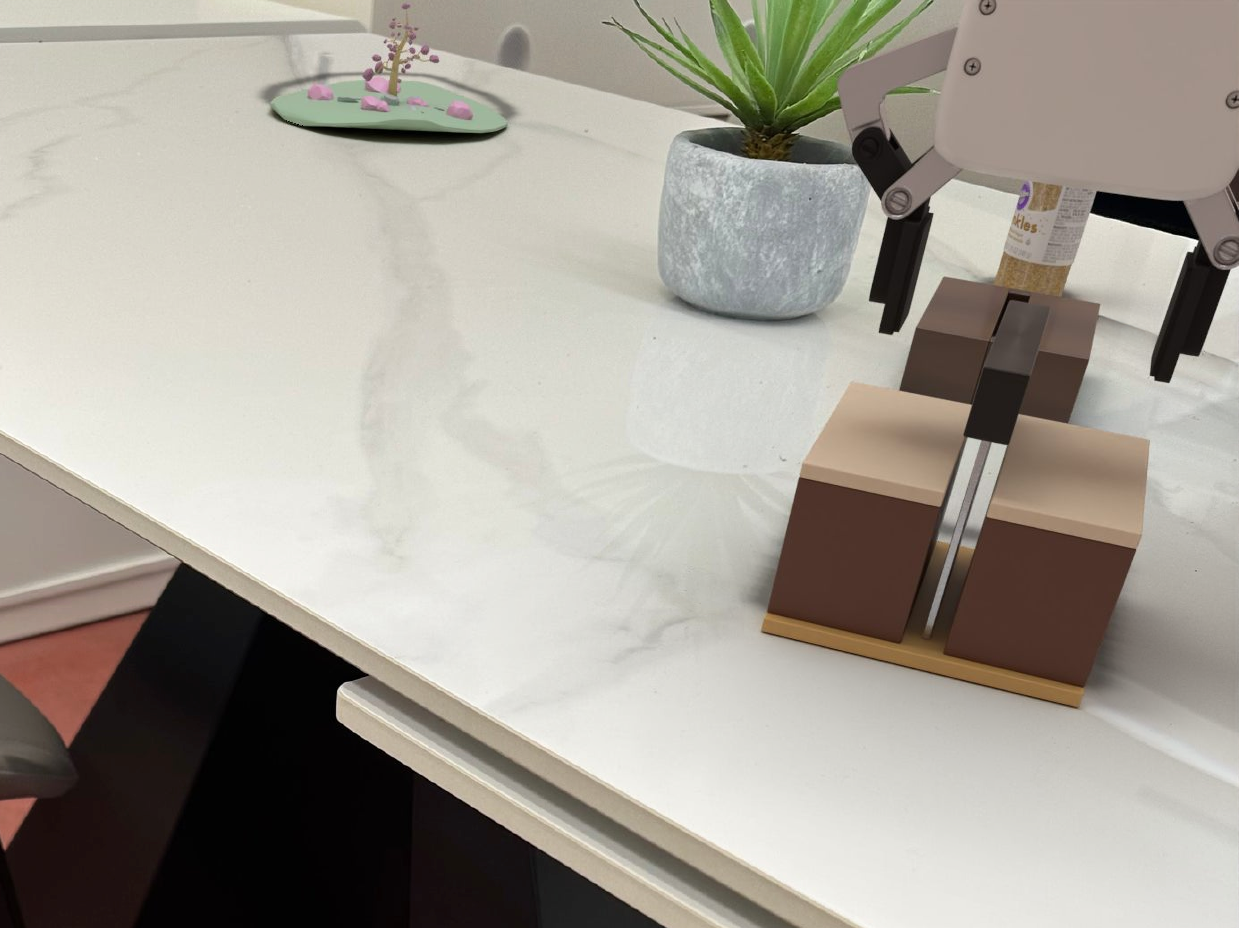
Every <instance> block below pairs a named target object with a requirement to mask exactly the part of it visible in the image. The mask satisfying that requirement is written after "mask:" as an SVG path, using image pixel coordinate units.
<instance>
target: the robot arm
mask: <svg viewBox="0 0 1239 928" xmlns="http://www.w3.org/2000/svg"><path fill="white" fill-rule="evenodd" d="M944 71H945V72H944ZM942 72H944V76H943V80H942V83H941V88H940V92H939V96H938V100H937V106H936V110H935V115H934V122H933V129H932V145H931V146H930V147H929V148H927V150H925V151H924V152H923V153H922V154H921V155H920V156H918V157H917V158H916V159H915V160H913V161H912V162H911V159H910V158H909V156H908V155H907V153H906V152H905V150H904V148H903V147H902V145H901V143H900V142H899V140H898V139H897V137H896V135H895V134H894V131H892V129H891V128H890V125H889V122H888V121H889V120H888V116H887V110H886V104H885V103H886V101H885V100H886V97H887V95H888V94H889V93H890V92H892V91H895V90H898V89H901V88H903V87H905V86H908V85H911V84H913V83H916V82H919V81H921V80H924V79H926V78H929V77H932V76H935V75H937V74H939V73H942ZM836 87H837V88H836V89H837V94H838V97H839V101H840V106H841V109H842V114H843V118H844V121H845V126H846V129H847V130H846V131H847V132H848V135H849V139H850V142H851V155H852V157H853V159H854V161H855V163H856V164H857V166H858V168H859V170H860V171H861V172H862V174H863V176H864V177H865V179H866V180H867V181H868V184H869V185H870V187H871V188H872V190H873V192H874V193H875V195H876V196H877V198H878V199H879V201H880V206H881V210H882V212H883V214H884V215H885V216H886V217H887V218H886V221H885V227H884V230H883V235H882V240H881V244H880V248H879V253H878V257H877V261H876V265H875V269H874V273H873V278H872V283H871V287H870V291H869V297H868V302H870V303H877V304H882V305H884V307H883V311H882V315H881V319H880V322H879V327H878V334H883V335H888V336H893V335H894V333H900V331H901V329H902V327H903V326H904V324H905V322H906V320H907V319H908V316H909V313H910V310H911V307H912V303H913V299H914V295H915V292H916V287H917V283H918V279H919V275H920V271H921V267H922V264H923V259H924V255H925V251H926V247H927V244H928V240H929V235H930V232H931V227H932V223H933V219H934V212H930V209H931V206H930V203H931V198H932V196H934V195H935V194H936V193H938V191H940V190H941V189H942V188H943V187H944V186H946V184H948V183H949V182H950V181H952V180H953V179H954V178H955V177H956V176H958V175H959V174H960V173H961V172H962V171H963V170H964V171H968V172H972V173H976V174H981V175H988V176H994V177H999V178H1005V179H1014V180H1017V181H1024V180H1025V181H1032V182H1039V183H1045V184H1052V185H1059V186H1066V187H1073V188H1080V189H1087V190H1094V191H1097V192H1102V193H1109V194H1117V195H1124V196H1131V197H1137V198H1146V199H1154V200H1162V201H1174V202H1175V201H1177V202H1179V201H1180V202H1181V201H1182V202H1183V205H1184V206H1185V208H1186V211H1187V214H1188V216H1189V218H1190V220H1191V222H1192V224H1193V226H1194V228H1195V230H1196V233H1197V235H1198V237H1199V238H1198V241H1197V244H1196V245H1195V246H1194V248H1193V250H1192V251H1187V252H1186V254H1185V257H1184V259H1183V263H1182V265H1181V268H1180V271H1179V275H1178V277H1177V281H1176V283H1175V286H1174V289H1173V292H1172V295H1171V298H1170V300H1169V303H1168V306H1167V310H1166V312H1165V315H1164V318H1163V321H1162V324H1161V327H1160V330H1159V333H1158V336H1157V339H1156V341H1155V344H1154V347H1153V351H1152V353H1151V359H1150V367H1149V377H1153V378H1154V379H1153V381H1154V382H1160V383H1166V384H1170V383H1171V380H1172V378H1173V375H1174V374H1175V373H1174V372H1175V370H1176V367H1177V364H1178V361H1179V359H1180V355H1186V356H1191V357H1195V358H1196V357H1197V358H1199V357H1200V355H1201V353H1202V351H1203V348H1204V345H1205V342H1206V339H1207V337H1208V335H1209V331H1210V330H1211V329H1210V328H1211V326H1212V323H1213V321H1214V318H1215V315H1216V312H1217V309H1218V306H1219V303H1220V300H1221V298H1222V295H1223V292H1224V289H1225V287H1226V285H1227V282H1228V279H1229V276H1230V273H1231V270H1232V269H1235V268H1237V267H1239V205H1238V202H1237V200H1236V198H1235V195H1234V193H1233V191H1232V189H1231V186H1230V184H1231V182H1232V181H1233V180H1234V178H1235V177H1236V175H1237V173H1238V171H1239V0H965V1H964V5H963V8H962V12H961V15H960V18H959V22H957V23H955V24H952V25H949V26H946V27H944V28H942V29H939V30H937V31H934V32H931V33H929V34H926V35H924V36H922V37H919V38H916V39H914V40H911V41H909V42H906V43H904V44H902V45H899V46H896V47H893V48H891V49H889V50H887V51H884V52H881V53H879V54H876V55H874V56H871V57H868V58H866V59H863V60H861V61H858V62H856V63H853V64H852V65H850V66H849V67H847V68H846V69H845V70H844V71H842V73H841V74H840V75H839V77H838V79H837V83H836Z"/></svg>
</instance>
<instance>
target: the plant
mask: <svg viewBox="0 0 1239 928" xmlns="http://www.w3.org/2000/svg"><path fill="white" fill-rule="evenodd" d="M409 8H411V4H409V3H407V2H405V3H403V4H402V5H401V9H403V10H405V11H406V12H405V21H406V22H405V23H406V24H405V25H404V24H403V23H401V22H398V23H396V19H397V18H396V17H393V18H392V21H391V22H390V23H389V24H388V27H389V28H390V29H392V30H395V28H396V27H397V28H400V29H401V28H402V29H403V30H405V33H404V36H403V38H402V40H401V42H400V43H398V42H397V41H396V40H397V38H395V39H391V40H388V39H387V38H385V39H384V40H383V44H387V42H388V44H387V45H386V47H387V49H388V50H389V52H388V53H387V56H388V59H387V60H386V61H384V62H383V61H382V56H381V55H379V54H377V53H376V54H374V55H372V56H371V59H372V61H373V62H377V63H376V64H375V66H374V69H373V68H372V67H371V68H370V67H369V68H366V69H365V71H364V72H363V73H362V78H363V79H358V80H357V79H356V80H346V81H338V82H334V83H329V84H321V83H314V84H312V86H311V87H309V88H308V89H303V90H298V91H295V92H290V93H285V94H281V95H278V96H276V97H275V98H273V99H272V100H271V101H270V102H269V106H270V107H271V108H272V109H273V110H274V111H275V112H276V113H277V114H278V115H279V116H280V117H281V118H282V119H283V120H285V121H286V120H287V121H286V122H288V121H290V122H293V123H292V124H294V123H296V124H295V125H297V124H299V125H298V126H302V125H303V126H302V127H324V128H346V129H348V128H349V129H369V130H392V131H393V130H395V131H396V130H397V131H419V132H443V133H471V134H484V133H493V132H494V133H495V132H497V131H500V130H502V129H505V128H506V127H507V126H508V123H509V121H508V120H507V118H505V117H504V116H503V115H502V114H500V113H498V112H497V111H496V110H494V109H492V108H491V107H489V106H488V105H486V104H484V103H482V102H479V101H477V100H475V99H472V98H469V97H467V96H464V95H462V94H459V93H457V92H454V91H451V90H449V89H446V88H444V87H441V86H439V85H435V84H433V83H429V82H423V81H418V80H402V79H401V78H399V67H400V66H399V65H402V66H403V67H402V68H401V69H400V72H401V73H402V74H403V75H404V74H406V72H407V71H406V70H409V69H411V68H412V65H411V63H410V62H413V61H414V60H419V61H420V62H423V63H424V62H425V63H426V62H430V63H433V64H439V62H440V58H439V56H438V55H437V54H431V55H430V56H429V58H428V59H426V60H424V59H421V56H420V54H422V55H423V56H428V55H429V53H430V47H429V45H427V44H424V45H422V46H421V48H420V50H419V52H418V53H417V54H415V53H416V48H414V47H409V49H405V50H403V49H404V47H405V45H406V43H407V41H408V44H409V46H411V45H413V44H414V43H413V41H414V40H416V38H417V34H416V33H415V32H416V31H419V29H420V27H418V26H414V27H412V26H411V25H409V18H408V17H409V16H408V10H407V9H409ZM395 35H396V33H395V32H394V31H393V32H391V34H390V36H391V38H394V36H395ZM400 36H401V32H398V33H397V37H400ZM408 39H409V40H408ZM403 53H410V55H412V56H410V57H409V56H406V58H404V59H403V58H401V54H403ZM389 61H391V62H392V64H391V67H390V68H389V67H388V64H389ZM384 63H385V65H384ZM404 64H405V65H404ZM384 70H385V71H386V72H390V76H389V80H388V79H386V78H384V77H381V76H375V75H379V74H380V75H381V74H382V73H383V71H384ZM290 122H289V123H290Z"/></svg>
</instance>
